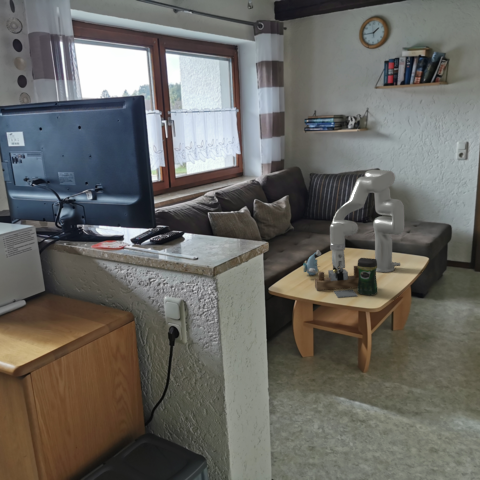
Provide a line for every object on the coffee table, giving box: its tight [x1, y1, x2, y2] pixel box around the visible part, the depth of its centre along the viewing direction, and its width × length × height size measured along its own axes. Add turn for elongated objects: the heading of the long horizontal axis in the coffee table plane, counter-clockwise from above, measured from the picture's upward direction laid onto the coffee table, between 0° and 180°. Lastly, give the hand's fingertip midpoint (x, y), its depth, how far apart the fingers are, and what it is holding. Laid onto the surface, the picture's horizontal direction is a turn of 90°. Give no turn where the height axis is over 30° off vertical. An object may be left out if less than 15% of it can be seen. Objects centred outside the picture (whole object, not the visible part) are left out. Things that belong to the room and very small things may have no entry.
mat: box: [333, 288, 359, 299], centre depth 251 cm, size 10×9×1 cm
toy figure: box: [302, 249, 322, 276], centre depth 284 cm, size 17×10×15 cm, turn 168°
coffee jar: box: [356, 257, 379, 296], centre depth 248 cm, size 10×8×19 cm
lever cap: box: [328, 268, 349, 281], centre depth 260 cm, size 9×6×5 cm, turn 93°
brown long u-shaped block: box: [314, 265, 359, 292], centre depth 261 cm, size 26×6×11 cm, turn 93°
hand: (338, 277), depth 260 cm, fingers open, 9 cm apart
